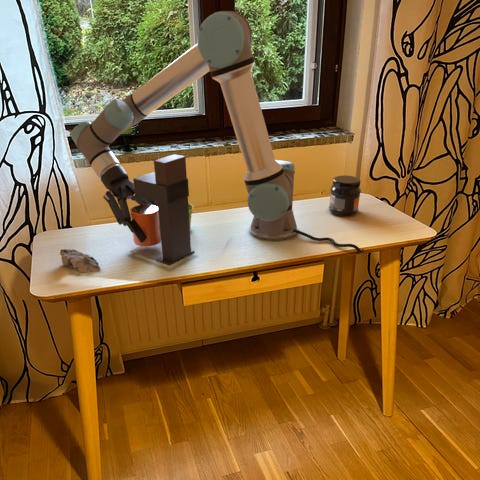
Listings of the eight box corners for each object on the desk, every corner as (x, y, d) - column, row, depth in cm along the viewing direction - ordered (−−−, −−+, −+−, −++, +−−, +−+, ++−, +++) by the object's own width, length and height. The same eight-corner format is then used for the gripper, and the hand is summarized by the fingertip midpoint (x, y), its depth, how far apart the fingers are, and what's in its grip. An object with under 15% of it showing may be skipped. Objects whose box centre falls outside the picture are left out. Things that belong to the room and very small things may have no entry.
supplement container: (362, 210, 184) (366, 177, 178) (351, 219, 177) (355, 185, 170) (335, 205, 189) (338, 173, 182) (323, 213, 181) (326, 180, 175)
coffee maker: (129, 255, 152) (116, 154, 136) (155, 243, 160) (145, 146, 144) (169, 270, 144) (160, 164, 128) (194, 256, 151) (189, 155, 135)
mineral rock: (105, 273, 142) (103, 259, 140) (78, 281, 138) (75, 266, 136) (85, 255, 152) (83, 242, 150) (59, 262, 148) (56, 248, 146)
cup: (165, 236, 155) (162, 205, 150) (156, 247, 149) (152, 215, 143) (139, 234, 157) (136, 203, 151) (129, 245, 150) (125, 212, 145)
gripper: (131, 171, 159) (172, 230, 159) (77, 188, 144) (123, 253, 145) (141, 156, 153) (184, 218, 154) (86, 173, 139) (134, 240, 140)
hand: (154, 235), depth 150 cm, fingers closed on cup, 8 cm apart
